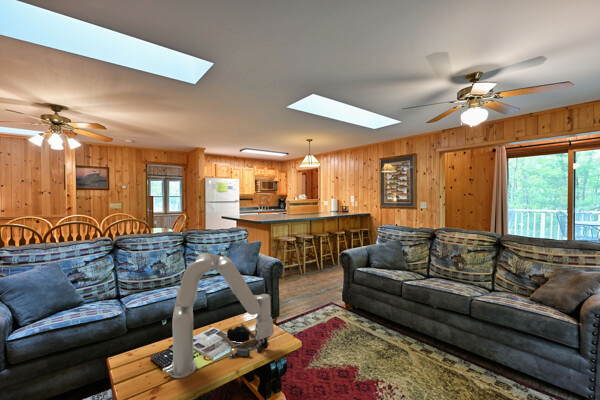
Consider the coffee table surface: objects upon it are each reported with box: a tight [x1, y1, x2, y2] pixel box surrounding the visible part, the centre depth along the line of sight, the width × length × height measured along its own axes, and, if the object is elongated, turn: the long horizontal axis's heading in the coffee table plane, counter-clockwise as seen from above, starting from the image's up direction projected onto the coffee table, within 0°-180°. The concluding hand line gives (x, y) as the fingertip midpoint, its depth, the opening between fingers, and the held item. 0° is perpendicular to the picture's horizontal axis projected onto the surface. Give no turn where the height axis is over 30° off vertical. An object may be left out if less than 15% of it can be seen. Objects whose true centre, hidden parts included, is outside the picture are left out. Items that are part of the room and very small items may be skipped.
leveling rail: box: [227, 341, 270, 360], centre depth 153 cm, size 25×4×1 cm, turn 128°
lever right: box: [256, 340, 263, 353], centre depth 155 cm, size 11×4×3 cm, turn 174°
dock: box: [218, 323, 259, 349], centre depth 164 cm, size 16×22×3 cm
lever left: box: [229, 347, 251, 357], centre depth 147 cm, size 11×4×3 cm, turn 80°
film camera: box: [226, 325, 250, 342], centre depth 164 cm, size 15×10×9 cm, turn 78°
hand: (264, 347), depth 152 cm, fingers closed
